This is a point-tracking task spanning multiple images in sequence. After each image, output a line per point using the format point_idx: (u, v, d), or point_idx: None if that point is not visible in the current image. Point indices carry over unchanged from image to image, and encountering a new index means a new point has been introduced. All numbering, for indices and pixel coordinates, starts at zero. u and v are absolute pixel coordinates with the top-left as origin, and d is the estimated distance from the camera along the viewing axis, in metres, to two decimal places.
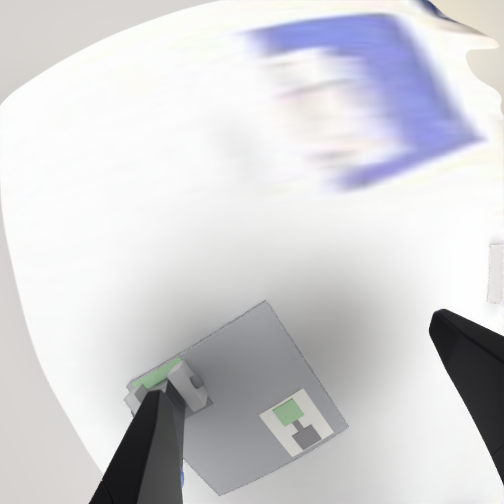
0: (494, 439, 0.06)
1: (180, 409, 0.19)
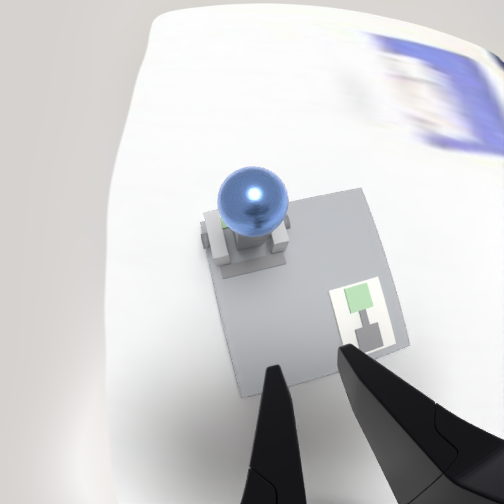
0: (403, 493, 0.06)
1: None
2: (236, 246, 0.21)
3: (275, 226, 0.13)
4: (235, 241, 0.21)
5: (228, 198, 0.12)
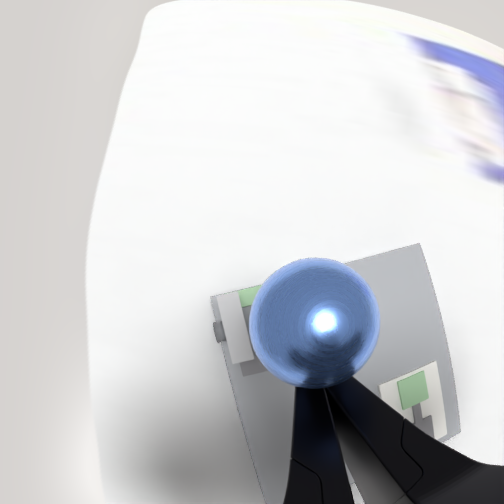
0: None
1: None
2: None
3: None
4: None
5: (275, 335, 0.06)
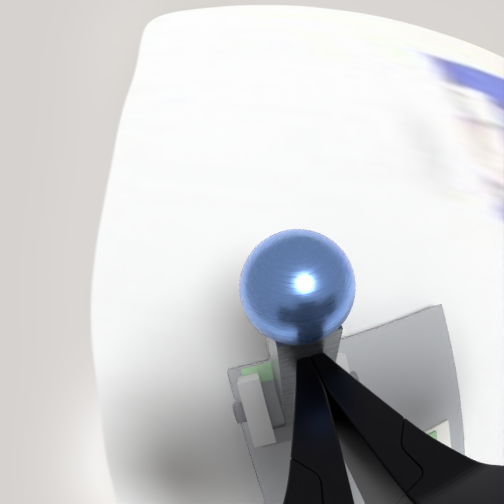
0: None
1: None
2: (284, 419, 0.13)
3: (338, 308, 0.07)
4: (282, 410, 0.13)
5: (253, 265, 0.07)
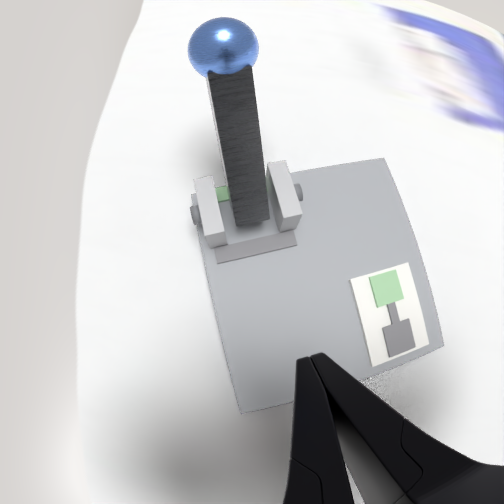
0: None
1: None
2: (233, 214, 0.16)
3: (240, 38, 0.10)
4: (231, 205, 0.16)
5: (195, 30, 0.11)
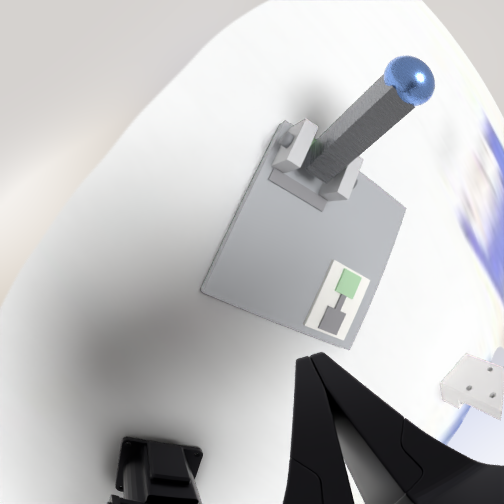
0: None
1: None
2: (310, 162, 0.20)
3: (427, 91, 0.13)
4: (314, 155, 0.19)
5: (409, 56, 0.13)
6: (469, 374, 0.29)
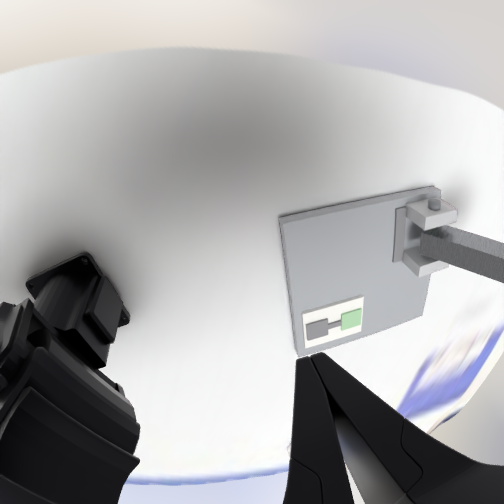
0: None
1: None
2: (429, 233, 0.20)
3: None
4: (435, 233, 0.20)
5: None
6: None
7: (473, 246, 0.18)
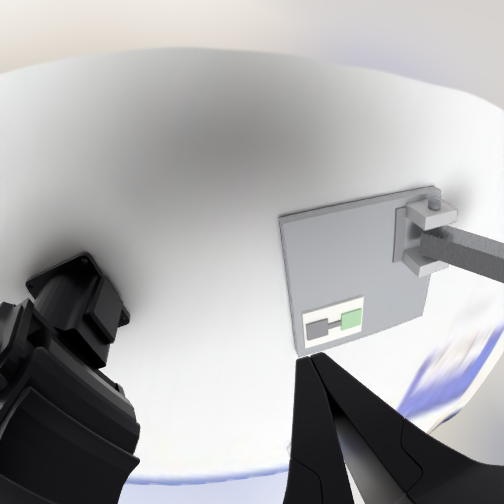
0: None
1: None
2: (429, 233, 0.20)
3: None
4: (435, 233, 0.20)
5: None
6: None
7: (473, 246, 0.18)
